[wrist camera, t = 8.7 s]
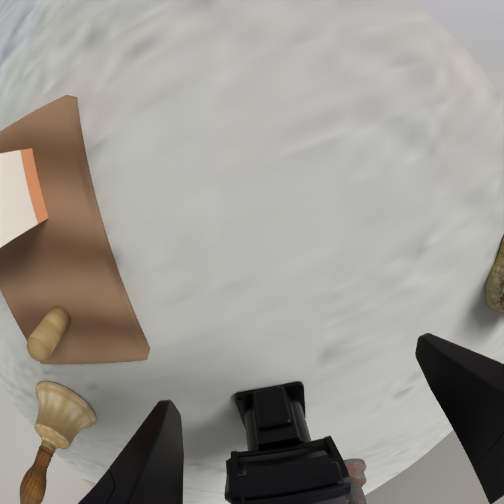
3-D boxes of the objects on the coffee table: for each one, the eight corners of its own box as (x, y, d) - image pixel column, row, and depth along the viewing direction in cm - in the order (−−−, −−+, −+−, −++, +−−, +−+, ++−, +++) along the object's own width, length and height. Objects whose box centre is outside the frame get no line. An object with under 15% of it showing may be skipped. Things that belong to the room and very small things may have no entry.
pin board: (150, 348, 22) (134, 407, 16) (47, 354, 22) (21, 399, 16) (76, 97, 14) (20, 86, 8) (-26, 156, 14) (-78, 170, 8)
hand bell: (48, 414, 26) (14, 508, 11) (27, 372, 23) (-24, 479, 8) (102, 431, 27) (79, 537, 12) (88, 391, 24) (48, 519, 9)
